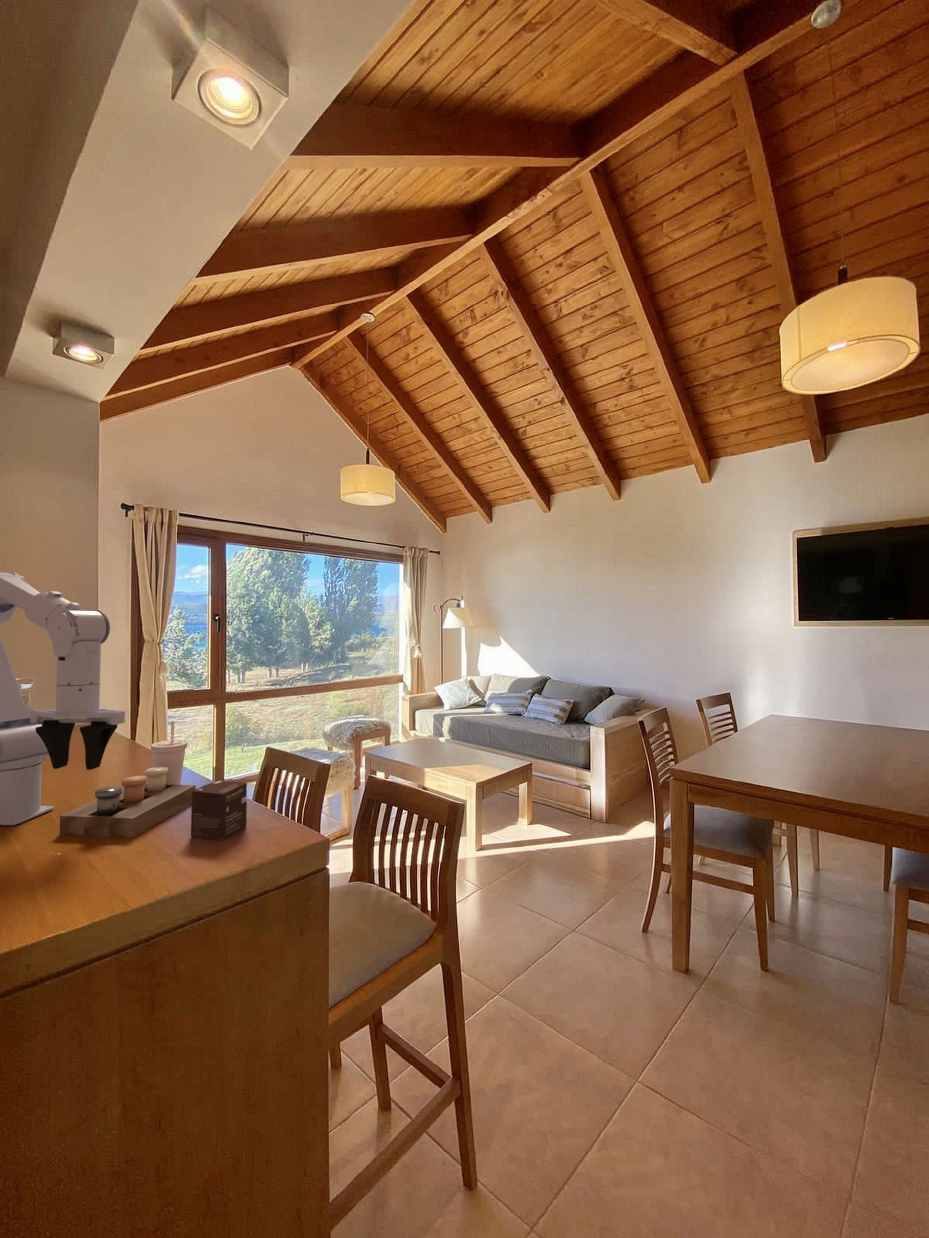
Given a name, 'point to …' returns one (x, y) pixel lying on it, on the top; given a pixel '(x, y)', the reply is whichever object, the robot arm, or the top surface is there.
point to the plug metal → (108, 800)
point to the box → (218, 809)
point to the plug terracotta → (134, 789)
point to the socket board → (127, 814)
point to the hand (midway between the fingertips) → (76, 767)
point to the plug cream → (156, 779)
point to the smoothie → (170, 757)
